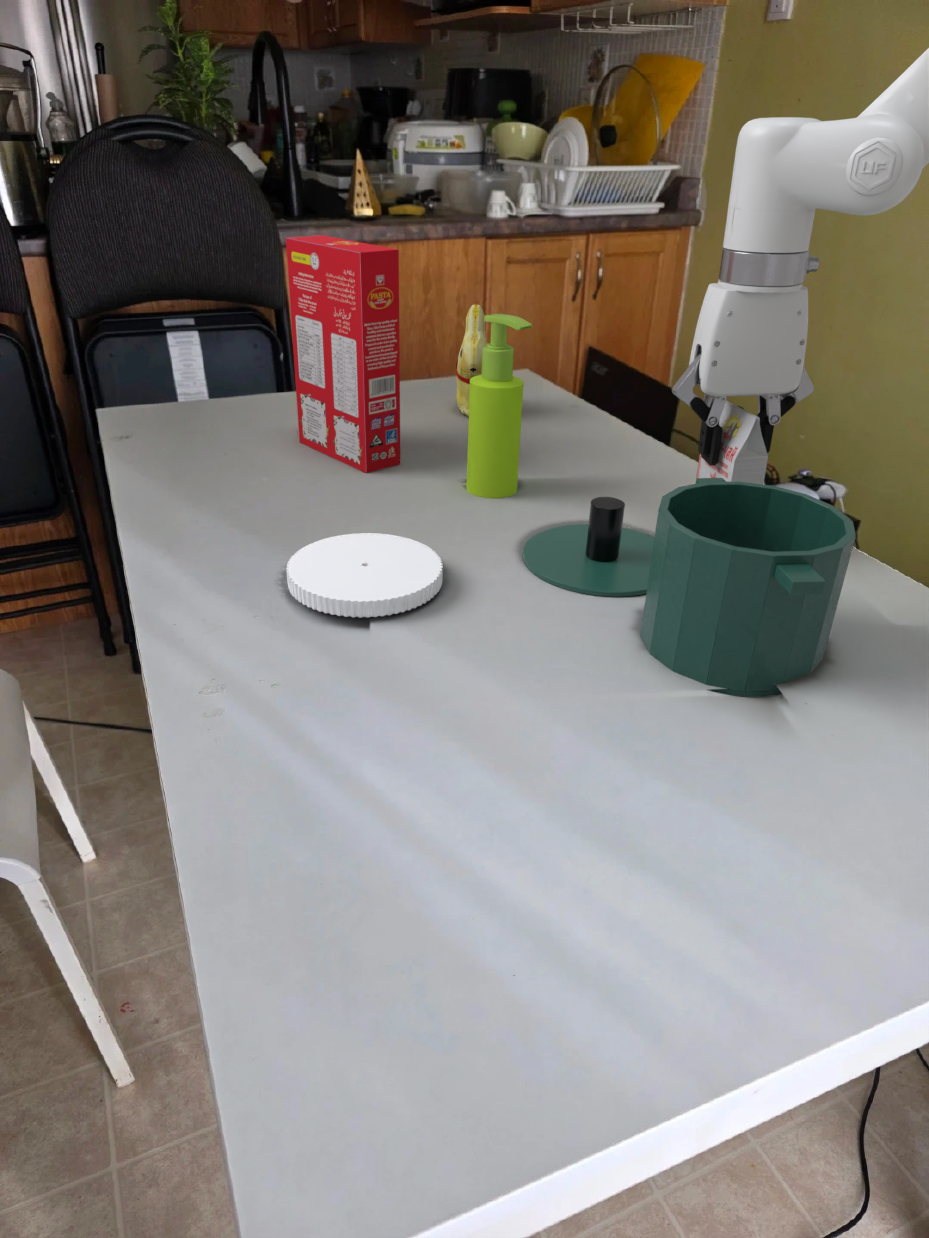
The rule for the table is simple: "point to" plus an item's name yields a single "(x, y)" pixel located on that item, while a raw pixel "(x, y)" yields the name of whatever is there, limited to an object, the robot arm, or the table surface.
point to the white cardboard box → (738, 449)
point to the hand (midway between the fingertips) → (732, 458)
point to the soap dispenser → (495, 415)
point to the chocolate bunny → (470, 355)
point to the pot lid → (593, 554)
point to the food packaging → (346, 348)
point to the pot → (744, 584)
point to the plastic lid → (364, 574)
